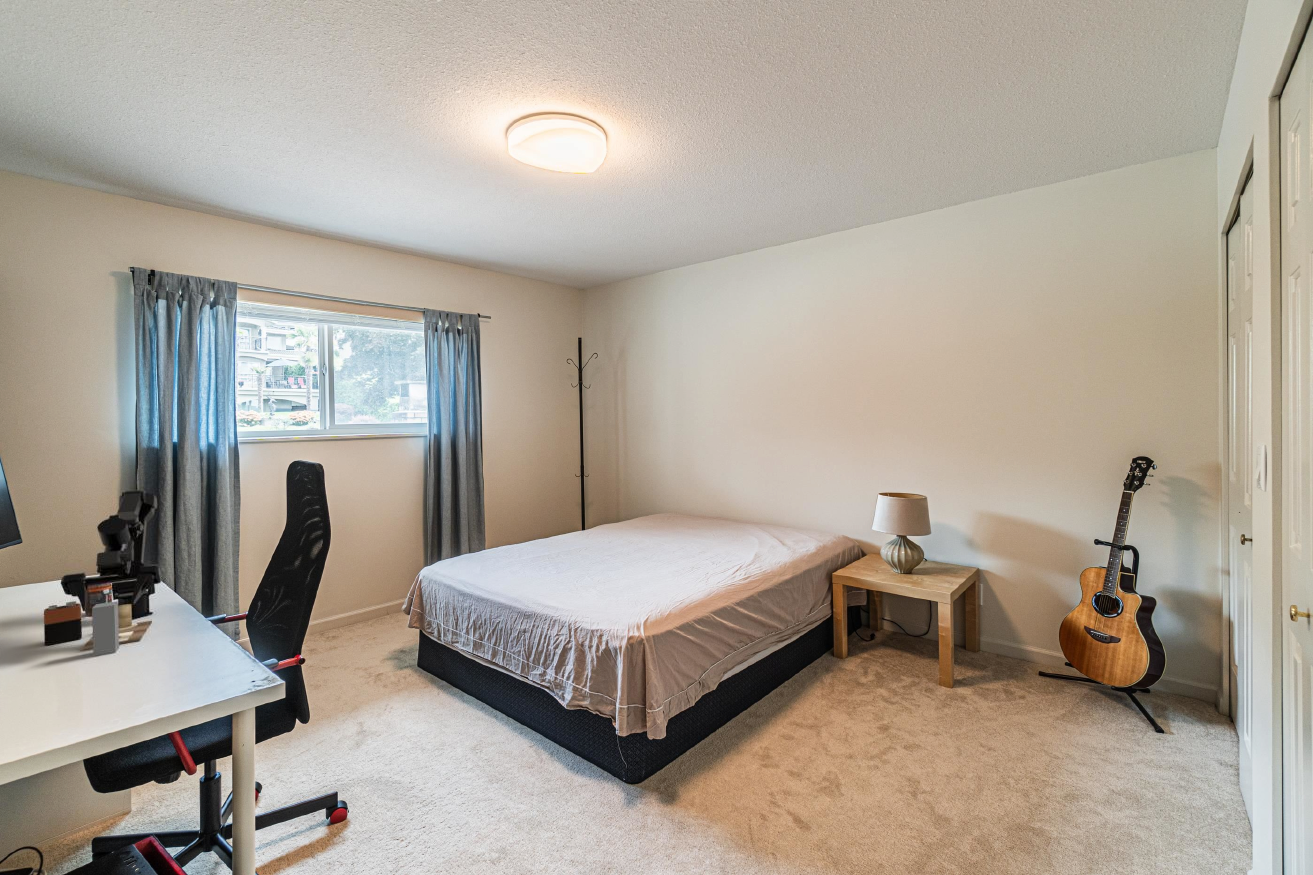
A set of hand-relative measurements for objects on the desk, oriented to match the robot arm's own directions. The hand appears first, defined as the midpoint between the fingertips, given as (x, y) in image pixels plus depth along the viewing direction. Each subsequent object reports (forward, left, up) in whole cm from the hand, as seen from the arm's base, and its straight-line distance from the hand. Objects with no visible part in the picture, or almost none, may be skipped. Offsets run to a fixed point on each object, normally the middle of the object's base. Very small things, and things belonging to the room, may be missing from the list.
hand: (108, 606), depth 144 cm
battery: (0, -19, -11) cm, 22 cm away
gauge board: (-6, -9, -10) cm, 15 cm away
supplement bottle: (-18, -40, -11) cm, 45 cm away
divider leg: (+2, +3, -11) cm, 11 cm away
